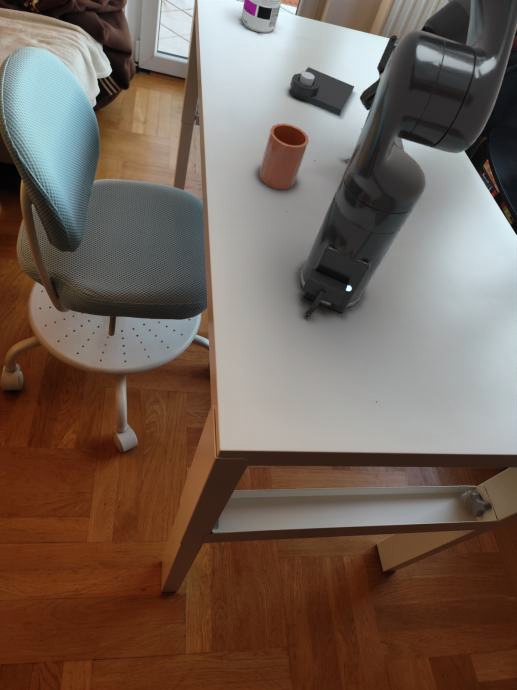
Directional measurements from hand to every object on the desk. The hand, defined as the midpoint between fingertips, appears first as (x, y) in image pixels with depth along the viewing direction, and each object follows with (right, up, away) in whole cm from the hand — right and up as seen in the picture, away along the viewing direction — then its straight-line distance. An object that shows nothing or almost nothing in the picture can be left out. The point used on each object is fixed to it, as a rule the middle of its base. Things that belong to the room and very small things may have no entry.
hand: (363, 104), depth 76 cm
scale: (-3, +16, +28) cm, 32 cm away
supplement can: (-17, +38, +40) cm, 58 cm away
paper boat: (+5, -3, +17) cm, 18 cm away
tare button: (-7, +16, +23) cm, 29 cm away
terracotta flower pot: (-13, -9, +7) cm, 18 cm away
